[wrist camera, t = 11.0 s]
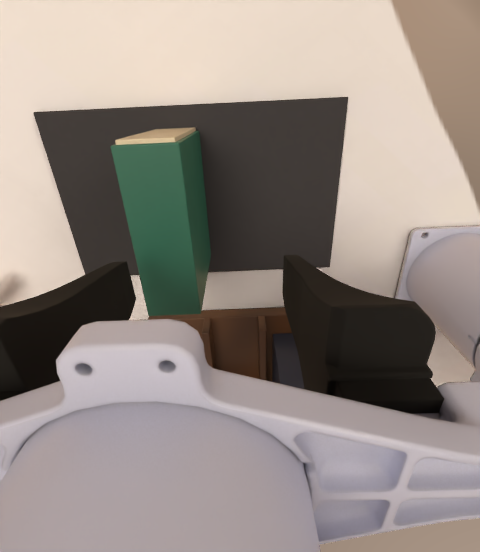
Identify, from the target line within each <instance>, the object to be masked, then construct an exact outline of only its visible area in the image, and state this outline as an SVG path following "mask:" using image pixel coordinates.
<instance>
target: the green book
mask: <svg viewBox="0 0 480 552" xmlns="http://www.w3.org/2000/svg"><path fill="white" fill-rule="evenodd" d="M115 142H116V144H115V145H112V146H111V152H112V156H113V160H114V165H115V169H116V174H117V178H118V182H119V187H120V191H121V196H122V200H123V205H124V209H125V213H126V218H127V222H128V227H129V231H130V236H131V240H132V244H133V249H134V253H135V258H136V262H137V266H138V271H139V275H140V280H141V284H142V289H143V293H144V297H145V302H146V306H147V311H148V315H149V316H162V315H187V314H201V310H202V304H203V298H204V293H205V287H206V281H207V275H208V270H209V264H210V258H211V248H210V238H209V228H208V217H207V207H206V196H205V186H204V175H203V165H202V155H201V144H200V134H199V131H196V128H195V127H192V128H171V129H155V130H151V131H147V132H143V133H140V134H136V135H132V136H128V137H125V138H121V139H117V140H115Z"/></svg>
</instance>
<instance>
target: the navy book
mask: <svg viewBox="0 0 480 552" xmlns="http://www.w3.org/2000/svg"><path fill="white" fill-rule="evenodd" d="M272 382H274V383H279V384H283V385H288V386H292V387H296V388H301V389H304V383H303V377H302V371H301V366H300V360H299V355H298V351H297V347H296V344H295V341H294V337H293V334H292V333H283V334H273V337H272Z"/></svg>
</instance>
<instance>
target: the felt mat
mask: <svg viewBox="0 0 480 552" xmlns="http://www.w3.org/2000/svg"><path fill="white" fill-rule="evenodd" d="M347 103H348V97H338V98H318V99H297V100H277V101H256V102H235V103H215V104H194V105H173V106H153V107H132V108H111V109H91V110H70V111H50V112H34V116H35V119H36V122H37V125H38V129H39V132H40V135H41V138H42V141H43V144H44V147H45V150H46V153H47V157H48V160H49V163H50V166H51V169H52V172H53V175H54V178H55V181H56V185H57V188H58V191H59V194H60V197H61V200H62V203H63V206H64V209H65V212H66V216H67V219H68V222H69V225H70V228H71V231H72V234H73V237H74V240H75V244H76V247H77V250H78V253H79V256H80V259H81V262H82V265H83V268H84V272H85V275H86V274H88V273H90V272H92V271H94V270H96V269H98V268H100V267H102V266H104V265H106V264H109V263H112V262H122V261H127V264H128V268H129V272H130V275H139V271H138V266H137V262H136V258H135V253H134V249H133V244H132V240H131V236H130V231H129V227H128V222H127V218H126V213H125V209H124V205H123V200H122V196H121V191H120V187H119V182H118V178H117V174H116V169H115V165H114V160H113V156H112V152H111V146H112V145H115V144H116V142H115V140H117V139H121V138H125V137H128V136H132V135H136V134H140V133H143V132H147V131H151V130H155V129H171V128H192V127H195V128H196V131H199V134H200V144H201V155H202V165H203V175H204V186H205V196H206V207H207V217H208V228H209V238H210V248H211V258H210V264H209V270H208V272H219V271H243V270H267V269H283V263H284V255H299V256H300V257H302V258H303V259H304V260H306V261H307V262H308V263H310V264H311V265H313V266H314V267H330V259H331V250H332V240H333V231H334V222H335V213H336V204H337V195H338V185H339V176H340V167H341V158H342V149H343V140H344V130H345V121H346V112H347Z"/></svg>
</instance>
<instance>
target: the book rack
mask: <svg viewBox="0 0 480 552" xmlns="http://www.w3.org/2000/svg"><path fill="white" fill-rule="evenodd" d="M152 319H171V320H177V321H182V322H185V323H187V324H188V325H190V326H191V327H193V328H194V329H196V330H197V331H198V333H199V335H200V337H201V339H202V341H203V344H204V352H205V358H206V361H207V363H208V365H209V366H211V367H212V368H214V369H218V370H222V371H226V372H231V373H235V374H240V375H244V376H248V377H253V378H257V379H261V380H266V381H270V382H272V337H273V334H283V333H292V331H291V328H290V325H289V321H288V318H287V315H286V312H285V307H278V308H253V309H228V310H203V311H201V314H187V315H162V316H149V318H148V320H152Z"/></svg>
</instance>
